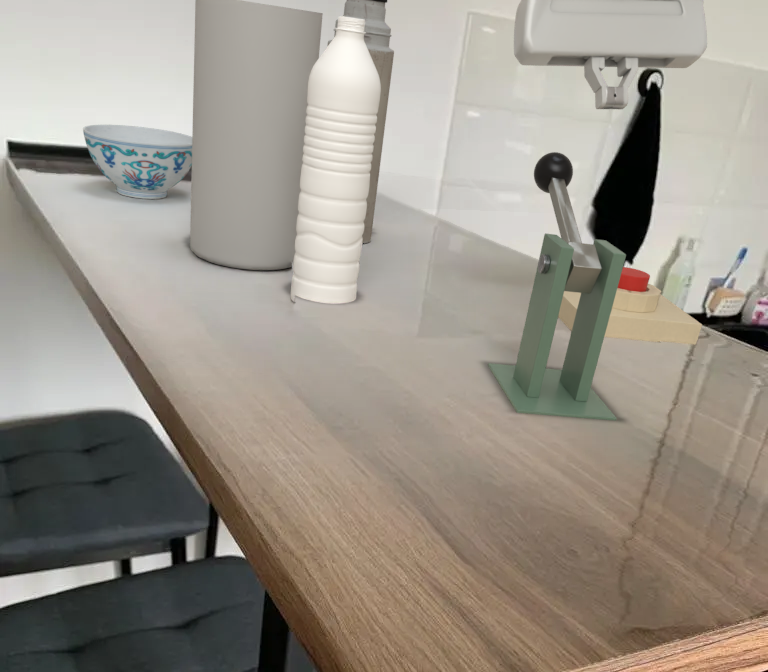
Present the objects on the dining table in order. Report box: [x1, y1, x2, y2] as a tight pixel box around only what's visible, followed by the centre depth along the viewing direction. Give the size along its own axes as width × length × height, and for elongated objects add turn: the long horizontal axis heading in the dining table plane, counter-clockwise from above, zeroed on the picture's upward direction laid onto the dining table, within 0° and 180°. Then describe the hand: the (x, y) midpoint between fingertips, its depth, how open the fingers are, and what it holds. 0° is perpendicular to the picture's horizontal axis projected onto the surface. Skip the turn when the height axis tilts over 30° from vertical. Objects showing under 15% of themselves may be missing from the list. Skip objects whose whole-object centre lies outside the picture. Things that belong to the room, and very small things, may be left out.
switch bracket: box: [487, 233, 627, 421], centre depth 67 cm, size 10×8×13 cm
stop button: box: [618, 266, 651, 292], centre depth 89 cm, size 4×4×2 cm
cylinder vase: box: [189, 0, 324, 271], centre depth 92 cm, size 12×12×25 cm
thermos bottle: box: [327, 0, 395, 245], centre depth 107 cm, size 8×8×28 cm
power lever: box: [533, 151, 602, 294], centre depth 68 cm, size 15×3×3 cm, turn 7°
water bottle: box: [290, 15, 381, 305], centre depth 81 cm, size 9×6×25 cm
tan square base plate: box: [558, 283, 703, 346], centre depth 90 cm, size 13×11×5 cm
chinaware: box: [82, 124, 192, 200], centre depth 118 cm, size 15×15×8 cm
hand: (611, 107), depth 91 cm, fingers closed
